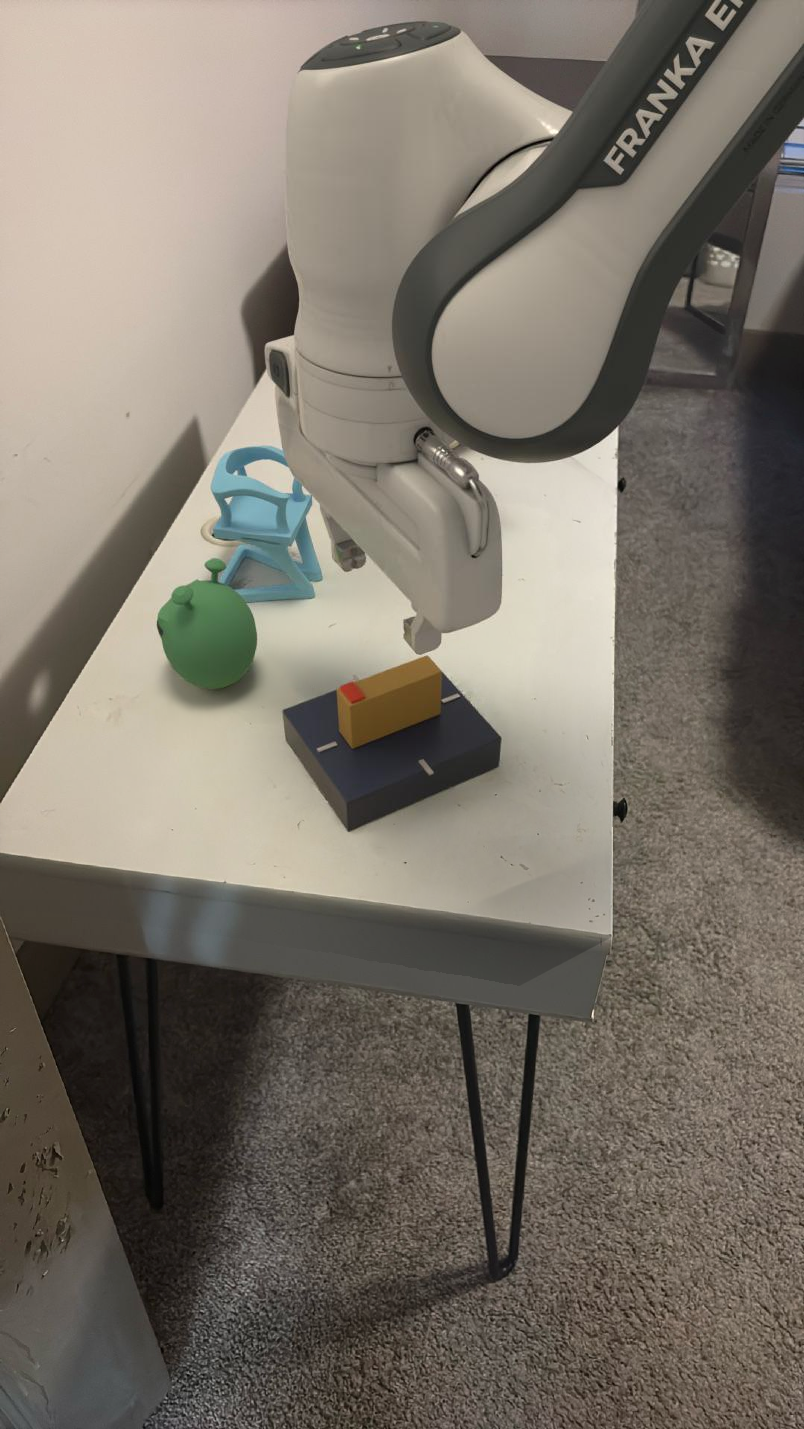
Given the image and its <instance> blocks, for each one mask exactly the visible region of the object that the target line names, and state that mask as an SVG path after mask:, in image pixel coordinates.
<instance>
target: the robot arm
mask: <svg viewBox="0 0 804 1429" xmlns="http://www.w3.org/2000/svg"><path fill="white" fill-rule="evenodd" d="M285 119H286V120H285V133H284V134H285V135H284V203H285V225H286V241H287V244H286V246H287V253H288V258H289V262H290V265H291V267H292V270H293V273H294V275H295V279H296V283H297V287H298V298H299V301H298V312H297V315H296V320H295V324H294V332H293V334H292V335H289V336H285V337H282V338H279V339H275V340H272V341H269V342H267V343H265V345H264V360H265V368H266V373H267V376H268V377H269V379H270V380H271V381H272V383H273V384H275V385H274V386H275V387H274V396H275V399H274V400H275V407H276V415H277V416H276V417H277V422H278V430H279V436H280V442H281V448H282V449H281V450H282V451H283V453H284V456H285V459H286V461H287V464H288V466H289V468H288V469H289V471H290V473H291V476H292V477H293V478H294V477H295V479H297V480H298V481H299V483H300V484H301V485H302V488H304V489H305V490H306V491H307V493H309V495H312V499H313V500H315V501H316V502H317V503H318V504H319V511H320V513H321V516H322V519H323V523H324V525H325V528H326V531H327V534H328V537H329V539H330V548H331V549H330V550H331V558H332V560H333V561H334V563H335V564H337V565H338V566H339V568H341V569H342V571H343V572H344V573H348V572H351V571H353V570H359V569H361V568H363V567H364V566H365V565H366V563H367V557H368V558H369V559H370V560H371V561H372V562H373V563H374V564H375V566H376V567H378V569H379V570H380V571H381V572H382V573H383V574H384V575H385V576H386V577H387V578H388V579H389V580H390V582H391V583H392V584H393V585H395V587H396V588H397V589H398V590H399V591H400V593H402V594H403V595H404V597H405V598H406V599H407V600H408V601H409V602H410V605H411V610H413V611H414V612H415V613H416V614H415V616H414V615H413V616H411V617H408V618H407V617H406V618H405V619H402V620H403V623H402V624H403V628H402V629H403V635H402V636H403V637H402V638H403V640H404V641H405V642H406V644H407V645H408V646H409V647H410V648H411V650H412V651H413V652H414V653H415V654H416V655H419V656H421V655H424V654H426V653H429V652H432V651H435V650H437V649H438V648H439V647H440V646H441V644H442V635H443V634H450V633H454V632H457V631H460V630H463V629H467V628H471V627H472V626H475V625H477V624H481V622H484V621H486V620H488V619H490V618H491V617H493V616H494V615H495V614H497V612H499V610H500V608H501V605H502V597H503V546H502V545H503V543H502V542H503V541H502V539H503V538H502V524H501V518H500V517H501V516H500V513H499V512H500V511H499V509H498V505H497V502H496V500H495V498H494V496H493V494H492V492H491V491H490V489H489V488H488V487H487V485H486V484H485V483H483V481H481V479H480V474H479V472H478V471H477V469H476V468H475V467H474V465H473V464H472V463H471V462H469V461H468V460H467V459H465V458H463V457H460V456H459V455H458V454H457V453H456V452H455V451H454V450H453V449H451V448H450V446H449V445H451V444H452V443H453V442H454V441H455V440H456V441H457V442H459V443H460V444H461V445H462V446H464V447H466V448H468V449H469V450H472V451H474V452H476V453H479V454H481V455H484V456H487V457H490V458H493V459H497V460H500V461H506V462H511V463H519V464H540V463H544V464H545V463H550V462H556V461H560V460H564V459H568V458H571V457H574V456H576V455H579V454H581V453H583V452H586V451H587V450H590V449H591V448H593V447H595V446H596V445H597V444H599V443H601V442H602V441H603V440H605V439H606V438H607V437H609V436H610V435H611V434H612V433H613V432H614V431H615V430H616V429H617V428H618V427H619V426H620V425H621V423H623V421H624V420H625V419H626V417H627V416H628V415H629V413H630V412H631V410H632V409H633V407H634V405H635V403H636V401H637V400H638V397H639V396H640V393H641V391H642V389H643V387H644V384H645V382H646V378H647V375H648V372H649V369H650V367H651V363H652V359H653V356H654V352H655V348H656V344H657V341H658V338H659V334H660V331H661V326H662V324H663V321H664V318H665V315H666V313H667V310H668V307H669V305H670V302H671V300H672V299H673V298H672V297H673V296H674V294H675V291H676V289H677V287H678V286H679V284H680V282H681V280H682V278H683V277H684V274H685V273H686V272H687V270H688V269H689V267H690V266H691V265H692V263H693V261H694V260H695V258H696V257H697V255H698V254H699V253H700V251H701V250H702V249H703V247H704V246H705V244H706V243H707V242H708V240H709V239H710V237H712V235H713V234H714V233H715V231H716V230H717V228H719V226H720V225H721V224H722V222H724V220H725V219H726V218H727V216H728V214H730V212H731V211H732V210H733V208H734V207H735V206H736V205H737V203H738V202H739V201H740V199H741V198H742V197H743V196H744V194H745V193H746V192H747V191H748V189H749V188H750V187H751V186H752V184H753V183H754V182H755V181H756V179H757V178H758V177H759V176H760V174H761V173H762V172H763V170H765V168H766V167H767V165H768V164H769V163H770V162H771V161H772V159H773V158H774V156H776V154H778V151H779V150H780V149H781V148H782V146H784V144H785V143H786V141H788V139H789V138H790V137H791V135H792V134H793V133H794V131H795V130H796V129H797V128H798V126H800V124H801V123H802V121H803V120H804V0H645V2H644V4H643V5H642V7H641V8H640V10H639V11H638V13H637V14H636V16H635V17H634V18H633V21H631V23H630V25H629V27H628V28H627V29H626V31H625V32H624V34H623V36H622V37H621V39H620V40H619V41H618V43H617V44H616V46H615V48H614V49H613V51H612V52H611V53H610V55H609V57H608V58H607V59H606V61H605V62H604V64H603V66H602V67H601V69H600V70H599V72H598V73H597V75H596V76H595V78H594V80H593V81H592V82H591V84H590V85H589V87H588V88H587V90H586V92H585V93H584V94H583V96H582V97H581V99H580V101H579V102H578V103H577V105H576V106H575V107H574V109H573V111H572V110H569V109H568V108H566V107H563V106H561V105H559V104H557V103H555V102H552V101H551V100H549V99H546V98H545V97H543V96H541V95H540V94H537V93H535V92H534V91H532V90H531V89H529V88H527V87H526V86H524V85H523V84H521V83H520V82H518V81H516V80H515V79H514V78H512V77H511V76H510V75H508V74H507V73H505V72H504V71H503V70H501V69H500V68H499V67H498V66H496V65H495V64H494V63H493V62H491V61H490V60H489V59H488V58H487V57H486V56H485V55H484V54H483V53H482V52H481V50H480V49H479V48H478V47H477V45H475V43H474V42H473V40H472V39H471V38H470V37H469V35H468V34H467V33H466V32H465V31H464V30H462V29H460V28H459V27H458V26H454V25H449V23H446V22H442V21H426V20H424V21H423V20H422V21H419V20H417V21H408V22H399V23H393V24H388V25H382V26H378V27H377V26H376V27H373V28H368V29H364V30H362V31H360V32H358V33H354V34H351V35H345V36H343V37H340V38H338V39H335V40H334V41H332V42H330V43H328V44H327V45H325V46H323V47H322V48H320V49H319V50H317V51H316V52H315V53H313V55H311V56H310V57H309V58H308V59H306V61H304V63H303V64H302V65H301V66H300V67H299V70H298V72H297V73H296V74H295V75H294V76H293V79H292V82H291V86H290V90H289V95H288V101H287V110H286V118H285ZM460 444H459V445H460Z"/></svg>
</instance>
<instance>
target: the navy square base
mask: <svg viewBox="0 0 804 1429" xmlns="http://www.w3.org/2000/svg"><path fill="white" fill-rule="evenodd" d="M427 656H428V657H429V658H430V659H431V657H430V656H429V655H427ZM436 666H437V667H438V668H439V669H440V667H439V666H438V665H437V664H436ZM350 678H351V679H352V680H353V682H356V681H359V680H360V678H359V677H358V676H357V674H353V675H351V676H350ZM281 712H282V720H283V728H284V737H285V741H286V743H287V744H288V745H289V747H290V748H291V750H292V752H293V753H294V754H295V756H296V757H297V759H298V760H299V762H300V763H301V765H303V767H304V769H305V771H306V772H307V773H308V775H309V776H310V778H311V779H312V780H313V782H314V784H315V786H316V787H317V789H318V790H319V791H320V793H321V794H322V796H323V797H324V798H325V800H326V801H327V803H328V805H329V806H330V807H331V809H332V810H333V811H334V813H335V815H336V817H338V819H339V820H340V822H341V824H342V825H343V826H344V828H345V829H346V831H347V832H352V831H354V830H356V829H358V828H361V827H363V826H366V825H367V824H370V823H372V822H375V821H377V820H379V819H382V818H384V817H386V816H388V815H392V814H393V813H395V812H398V811H401V810H403V809H405V808H408V807H410V806H412V805H414V804H416V803H419V802H420V801H423V800H426V799H429V798H431V797H433V796H436V795H437V794H440V793H443V792H444V791H447V790H449V789H451V788H453V787H456V786H458V785H461V784H463V783H466V782H467V781H471V780H472V779H475V778H476V777H479V776H481V775H485V774H487V773H488V772H491V771H493V770H496V769H497V768H499V767H500V761H501V748H502V740H503V739H502V736H501V735H500V734H499V733H498V732H497V731H496V730H495V728H493V726H492V724H490V723H489V722H488V720H486V718H484V716H483V715H482V714H481V713H480V711H478V709H477V708H476V707H475V706H474V705H473V704H472V703H471V702H470V701H469V699H468V698H467V697H466V696H465V695H464V694H463V693H462V692H461V691H460V689H458V688H457V686H456V685H455V684H454V683H453V682H452V680H450V678H449V677H448V676H447V675H446V674H445V672H443V671H442V684H441V713H440V714H439V715H437V716H434V717H432V718H429V719H427V720H424V721H422V722H419V723H417V724H414V725H412V726H409V727H407V728H404V729H401V730H399V731H396V732H394V733H391V734H389V735H386V736H384V737H381V738H379V739H376V740H374V741H371V742H369V743H366V744H364V745H361V746H359V747H356V748H354V749H352V748H351V747H350V745H349V744H348V742H347V741H346V740H345V738H344V737H343V736H342V734H341V733H340V732H339V719H338V703H337V689H335V690H331V691H329V692H327V693H324V694H322V695H319V696H316V697H313V698H311V699H308V700H306V701H302V702H300V703H297V704H293V705H292V706H289V707H287V708H284V709H282V711H281Z"/></svg>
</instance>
